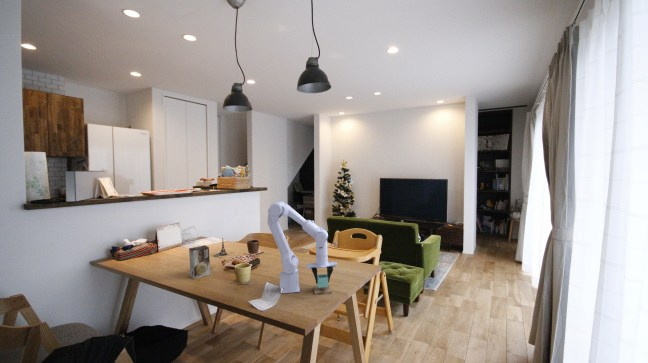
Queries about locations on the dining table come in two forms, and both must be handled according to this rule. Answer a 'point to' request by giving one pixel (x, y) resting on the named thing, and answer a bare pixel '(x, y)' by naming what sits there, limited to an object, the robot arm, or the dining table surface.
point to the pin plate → (322, 290)
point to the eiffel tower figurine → (221, 251)
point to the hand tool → (254, 261)
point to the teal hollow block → (322, 280)
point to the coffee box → (199, 261)
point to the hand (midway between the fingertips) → (322, 282)
